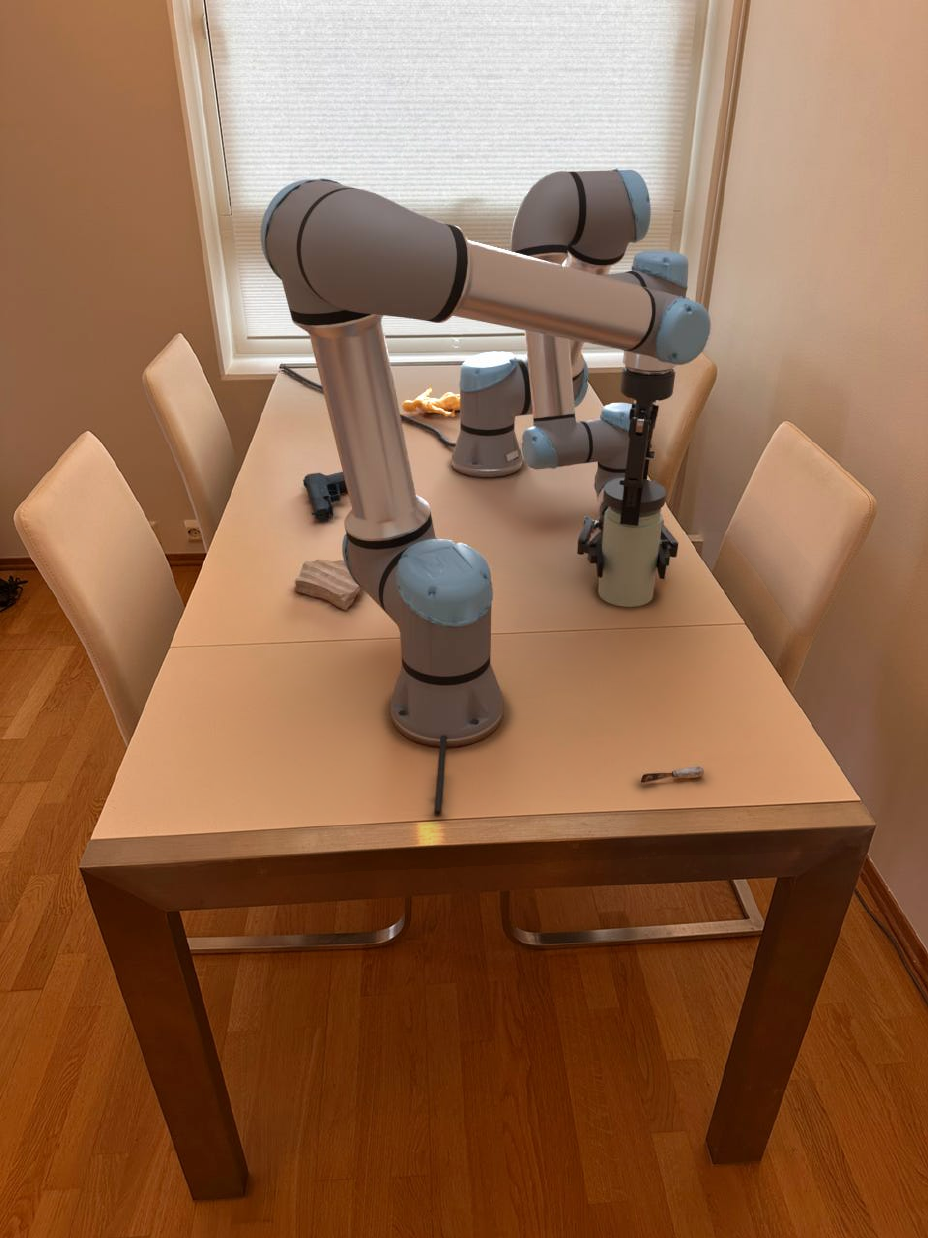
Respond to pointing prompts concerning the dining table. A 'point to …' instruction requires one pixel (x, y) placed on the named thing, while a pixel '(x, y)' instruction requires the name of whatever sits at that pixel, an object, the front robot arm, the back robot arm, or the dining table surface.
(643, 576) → the jar
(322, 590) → the stone
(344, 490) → the handgun
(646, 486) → the lid
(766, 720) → the dining table surface
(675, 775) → the putty knife
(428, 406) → the human figure
